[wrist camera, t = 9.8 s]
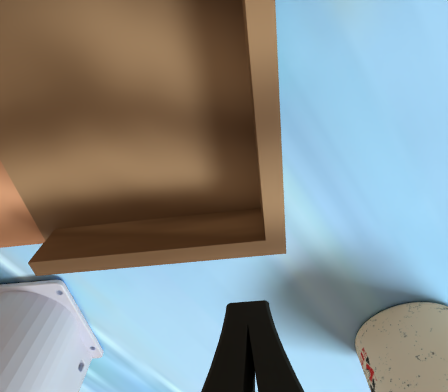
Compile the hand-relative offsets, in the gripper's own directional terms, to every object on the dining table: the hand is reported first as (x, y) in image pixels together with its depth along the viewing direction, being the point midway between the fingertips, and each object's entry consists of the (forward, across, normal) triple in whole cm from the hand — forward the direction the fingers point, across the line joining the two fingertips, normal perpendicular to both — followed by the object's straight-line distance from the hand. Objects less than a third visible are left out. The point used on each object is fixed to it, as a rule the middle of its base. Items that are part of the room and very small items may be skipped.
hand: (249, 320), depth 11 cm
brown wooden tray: (+9, +10, -5) cm, 14 cm away
